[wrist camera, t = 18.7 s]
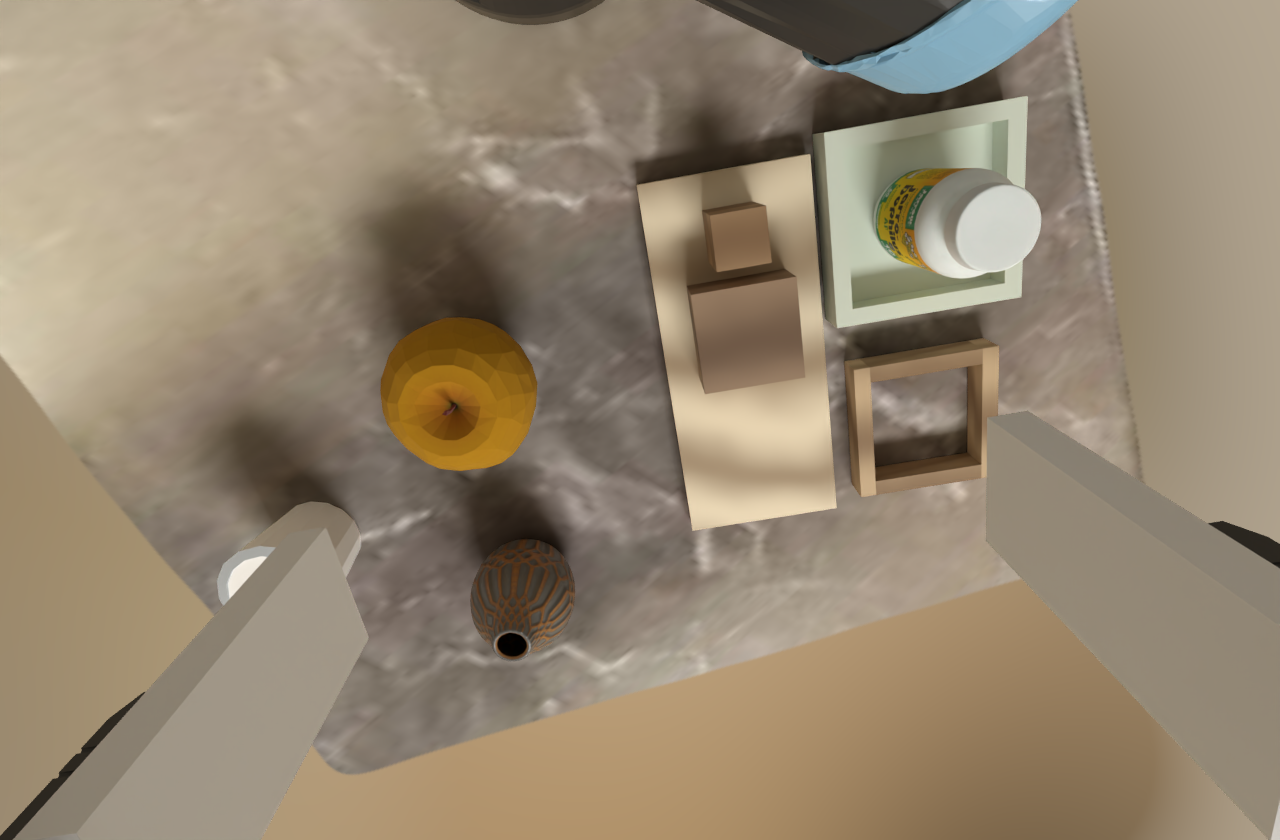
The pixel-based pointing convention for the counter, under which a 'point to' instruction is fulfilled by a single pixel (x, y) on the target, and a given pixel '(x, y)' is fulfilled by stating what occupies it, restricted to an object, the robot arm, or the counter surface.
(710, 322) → the walnut block
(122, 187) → the counter surface
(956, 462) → the oak collar
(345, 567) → the white cylinder
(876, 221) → the supplement bottle
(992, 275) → the tray
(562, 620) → the vase
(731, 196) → the board
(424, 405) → the apple
